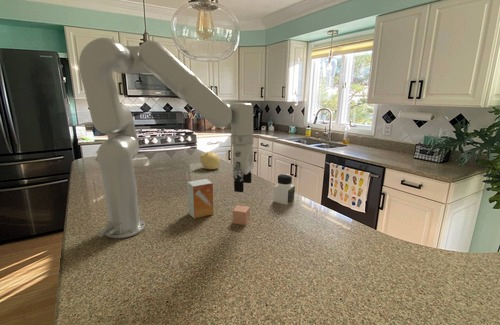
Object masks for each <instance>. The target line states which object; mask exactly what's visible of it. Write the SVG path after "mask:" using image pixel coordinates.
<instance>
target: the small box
mask: <svg viewBox="0 0 500 325" xmlns="http://www.w3.org/2000/svg"><path fill="white" fill-rule="evenodd" d="M186 186H187V205H188V206H187V207H188V208H187V209H188V211H187V212H188V214H189V215H190V216H191V217H192V218H193V219H194V220H196V219H199V218H202V217H208V216H211V215H214V183H213V182H212V181H210V180H209V179H207V178H204V179H196V180H191V181H187V183H186Z"/></svg>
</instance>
